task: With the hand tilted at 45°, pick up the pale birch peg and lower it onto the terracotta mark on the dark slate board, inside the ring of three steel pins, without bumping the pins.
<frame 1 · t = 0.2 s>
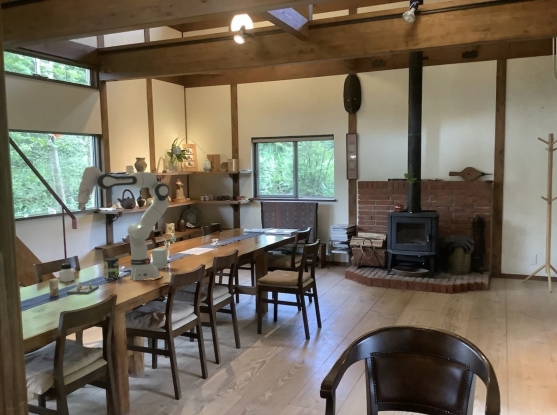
hand: (80, 209, 309), 52 cm above the table, tool tilted 20°, fingers open, 8 cm apart
medicine bottle: (67, 280, 331), on the table
pin board: (83, 290, 303), on the table
birch peg: (54, 295, 294), on the table
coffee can: (112, 278, 336), on the table
supplement box: (160, 268, 365), on the table
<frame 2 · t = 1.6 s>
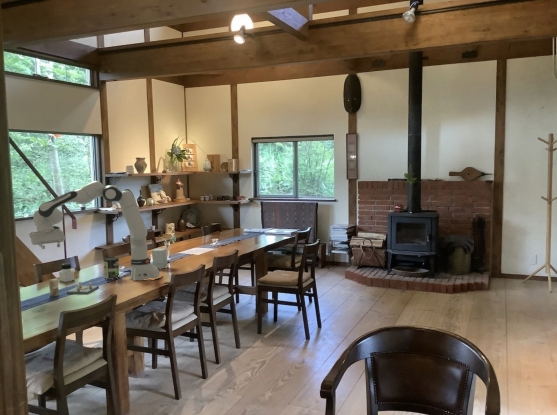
hand: (51, 247, 303), 28 cm above the table, tool tilted 45°, fingers open, 8 cm apart
nothing on the table moved.
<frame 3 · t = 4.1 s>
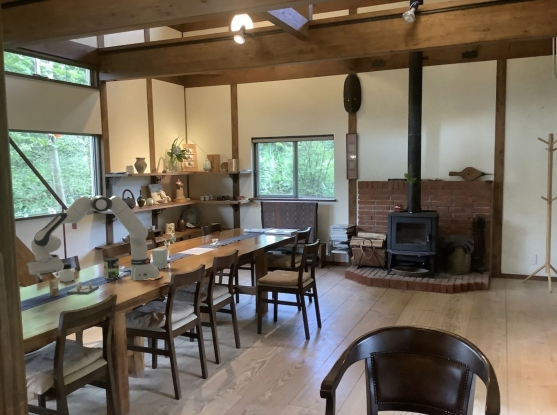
hand: (49, 277, 297), 11 cm above the table, tool tilted 45°, fingers open, 8 cm apart
nothing on the table moved.
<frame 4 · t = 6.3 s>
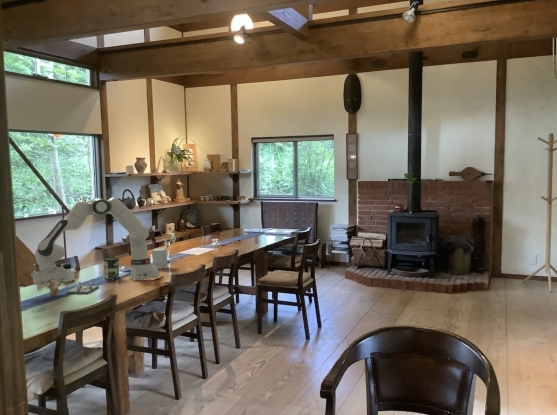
hand: (54, 287, 293), 5 cm above the table, tool tilted 45°, fingers closed on birch peg, 5 cm apart
birch peg: (54, 295, 294), on the table, touching gripper
everything else where it was.
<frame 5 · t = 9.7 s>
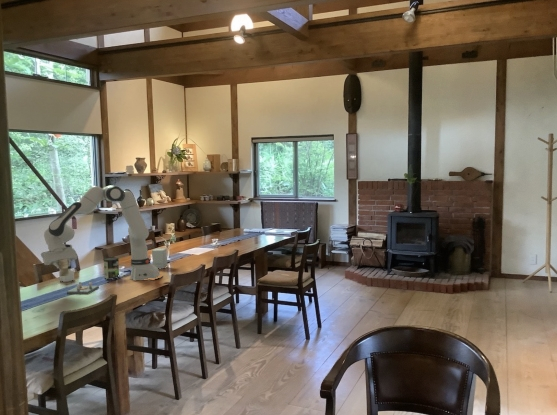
hand: (64, 266, 295), 17 cm above the table, tool tilted 45°, fingers closed on birch peg, 5 cm apart
birch peg: (64, 275, 296), point 12 cm above the table, touching gripper
everything else where it was.
when the fingers open (8 cm above the table, at t = 13.5 s): birch peg stays where it is, resting on pin board.
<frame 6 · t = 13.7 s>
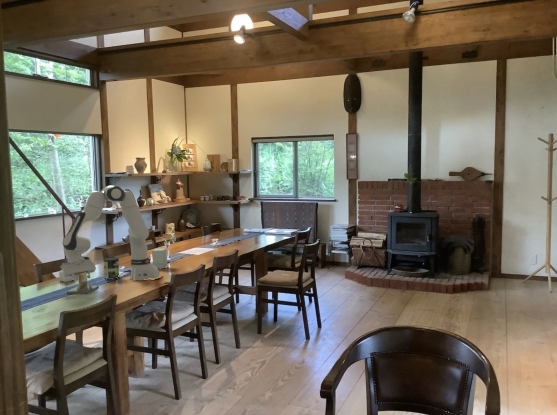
hand: (83, 279, 302), 8 cm above the table, tool tilted 45°, fingers open, 7 cm apart
birch peg: (83, 288, 303), point 2 cm above the table, touching pin board
everything else where it was.
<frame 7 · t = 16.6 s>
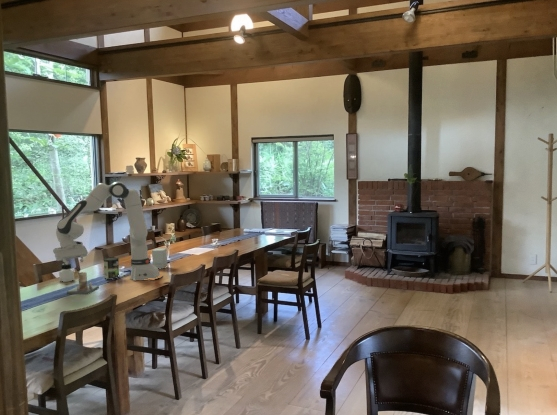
hand: (75, 262, 309), 17 cm above the table, tool tilted 45°, fingers open, 8 cm apart
nothing on the table moved.
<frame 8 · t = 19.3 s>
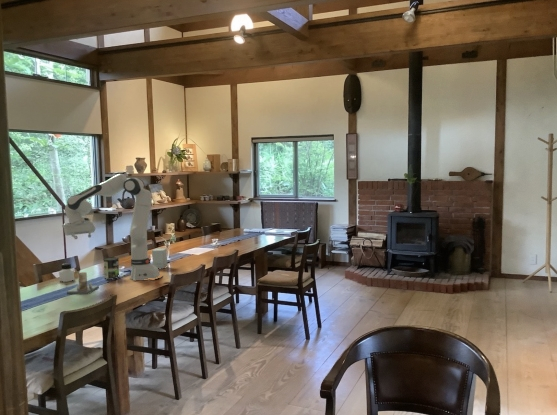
hand: (83, 237, 321), 31 cm above the table, tool tilted 45°, fingers open, 8 cm apart
nothing on the table moved.
at the end: birch peg 0.1 cm off-centre on the pin board, point 1.7 cm above the pin board's base; birch peg tilted 0°; the gripper is holding nothing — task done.
